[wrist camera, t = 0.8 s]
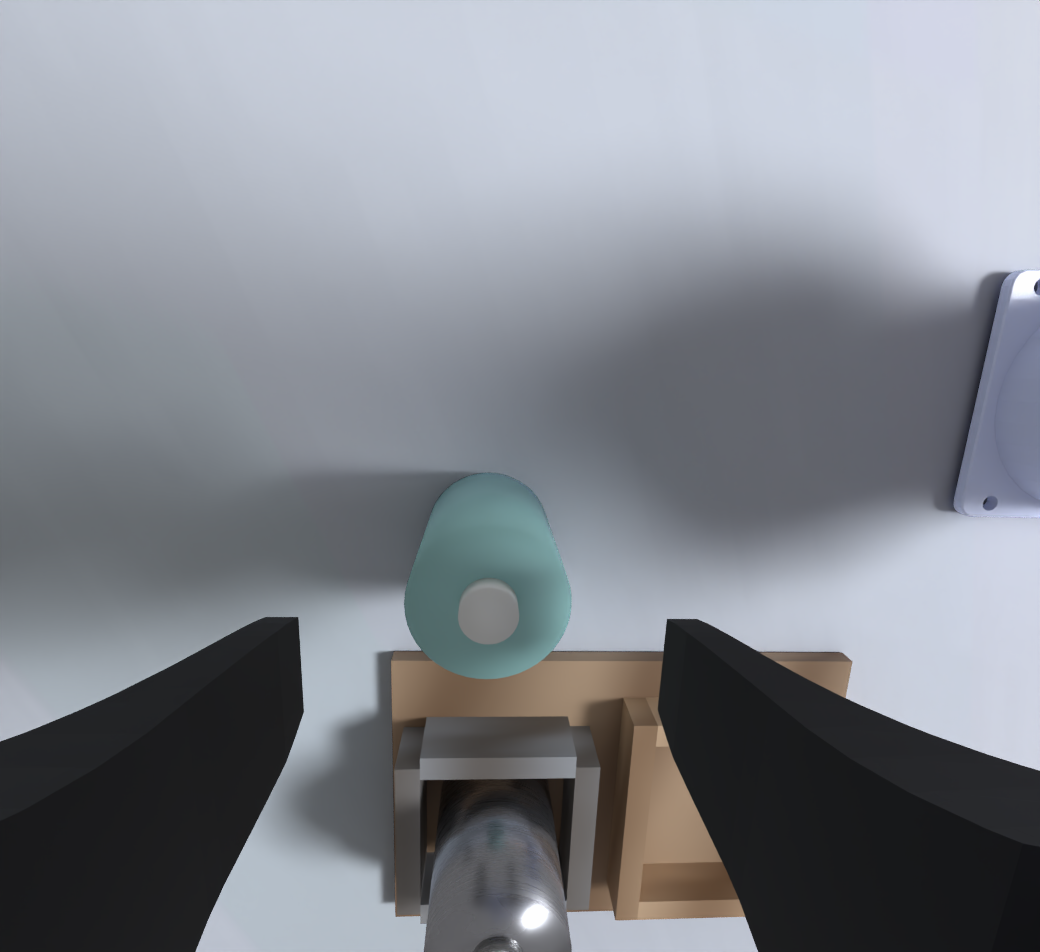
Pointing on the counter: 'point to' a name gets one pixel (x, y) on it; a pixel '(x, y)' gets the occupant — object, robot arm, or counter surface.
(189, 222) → the counter surface
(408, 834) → the wooden battery tray
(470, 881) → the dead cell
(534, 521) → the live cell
